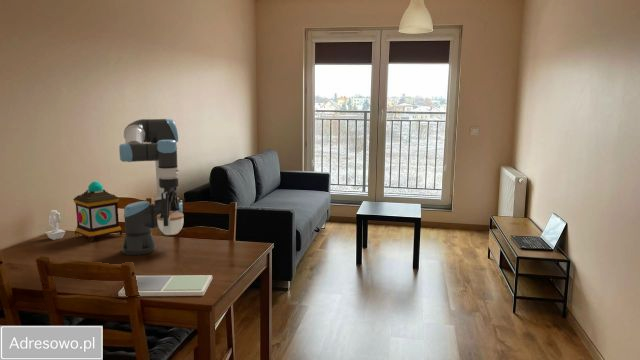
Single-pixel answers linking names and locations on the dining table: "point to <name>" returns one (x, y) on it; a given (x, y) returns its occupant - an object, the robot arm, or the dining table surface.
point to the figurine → (55, 226)
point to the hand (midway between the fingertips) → (170, 229)
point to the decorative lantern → (96, 212)
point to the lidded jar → (172, 222)
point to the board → (171, 285)
